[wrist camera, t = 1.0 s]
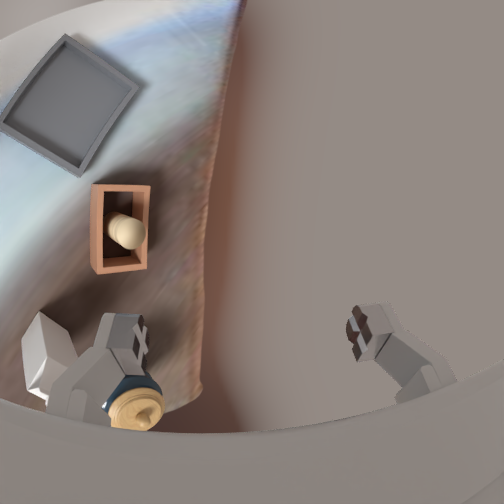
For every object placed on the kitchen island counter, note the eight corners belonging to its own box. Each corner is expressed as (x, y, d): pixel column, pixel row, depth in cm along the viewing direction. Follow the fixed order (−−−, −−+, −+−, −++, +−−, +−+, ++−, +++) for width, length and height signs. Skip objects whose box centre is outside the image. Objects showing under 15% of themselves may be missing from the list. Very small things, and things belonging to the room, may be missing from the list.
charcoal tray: (-4, 128, 26) (-6, 125, 24) (62, 41, 28) (65, 33, 26) (77, 177, 39) (80, 177, 37) (133, 91, 41) (139, 87, 39)
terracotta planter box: (90, 265, 44) (97, 274, 40) (91, 184, 41) (98, 184, 37) (135, 260, 50) (146, 268, 46) (138, 184, 47) (150, 185, 43)
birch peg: (97, 230, 44) (112, 242, 37) (108, 207, 44) (126, 213, 37) (118, 240, 47) (137, 253, 40) (129, 218, 48) (150, 226, 41)
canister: (76, 349, 44) (104, 409, 32) (134, 338, 53) (177, 386, 41) (88, 398, 47) (119, 457, 35) (139, 385, 56) (180, 435, 44)
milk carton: (38, 310, 38) (51, 373, 25) (68, 330, 43) (95, 395, 30) (21, 338, 36) (30, 409, 23) (50, 357, 40) (72, 427, 27)
